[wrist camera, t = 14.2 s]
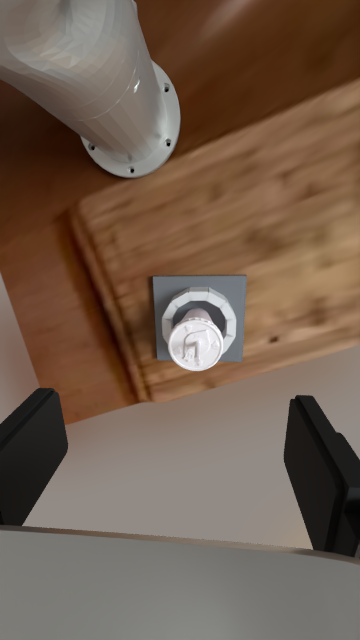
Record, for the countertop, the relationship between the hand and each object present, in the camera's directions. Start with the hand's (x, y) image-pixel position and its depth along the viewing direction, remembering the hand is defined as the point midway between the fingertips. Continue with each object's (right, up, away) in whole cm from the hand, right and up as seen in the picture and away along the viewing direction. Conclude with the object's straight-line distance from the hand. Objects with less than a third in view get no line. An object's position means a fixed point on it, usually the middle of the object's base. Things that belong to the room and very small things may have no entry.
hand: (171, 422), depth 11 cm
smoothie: (+3, +4, +30) cm, 30 cm away
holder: (+3, +4, +30) cm, 31 cm away
